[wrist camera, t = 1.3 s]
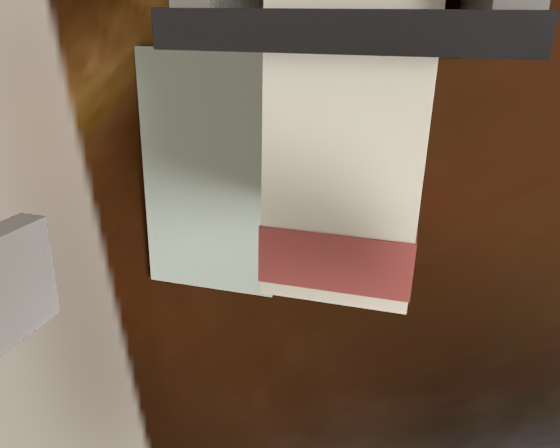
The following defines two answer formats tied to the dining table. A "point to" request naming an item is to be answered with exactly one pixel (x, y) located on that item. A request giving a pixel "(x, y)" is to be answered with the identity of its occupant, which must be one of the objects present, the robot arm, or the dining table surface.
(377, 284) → the pink-banded white block
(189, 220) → the pad
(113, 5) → the dining table surface
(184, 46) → the dispenser
